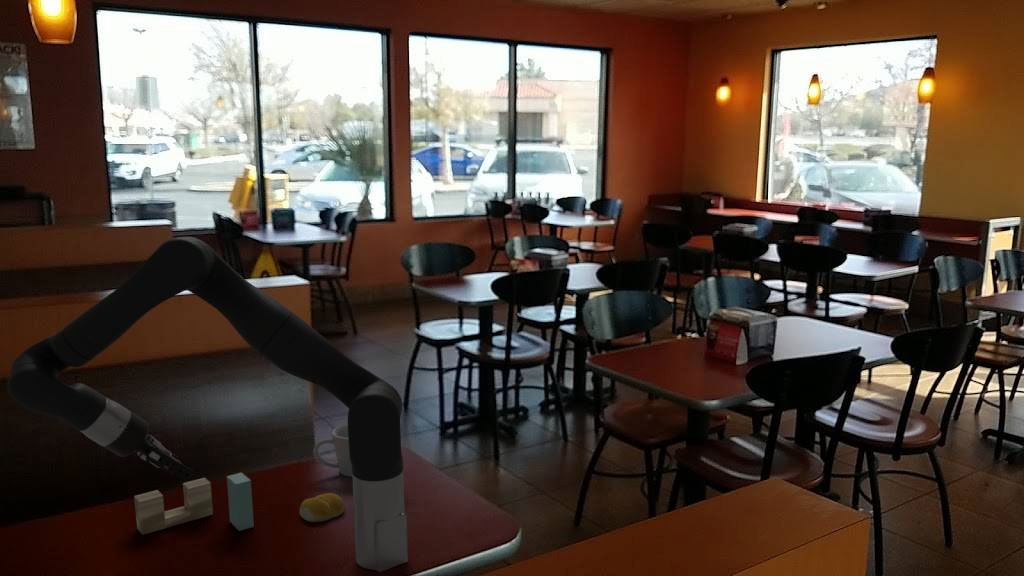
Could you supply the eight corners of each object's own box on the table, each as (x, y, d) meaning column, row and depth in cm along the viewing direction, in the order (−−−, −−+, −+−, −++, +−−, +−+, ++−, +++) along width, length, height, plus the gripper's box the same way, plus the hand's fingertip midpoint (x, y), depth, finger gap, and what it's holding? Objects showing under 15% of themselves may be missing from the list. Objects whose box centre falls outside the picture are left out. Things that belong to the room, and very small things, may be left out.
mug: (382, 475, 189) (381, 434, 187) (317, 485, 184) (315, 444, 182) (373, 459, 199) (371, 420, 197) (311, 468, 193) (309, 428, 191)
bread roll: (351, 512, 171) (351, 494, 170) (315, 527, 165) (314, 508, 164) (329, 500, 177) (328, 483, 176) (293, 514, 170) (292, 496, 170)
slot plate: (212, 514, 170) (210, 482, 169) (142, 534, 161) (139, 502, 160) (207, 508, 173) (204, 477, 171) (137, 528, 164) (134, 496, 163)
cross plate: (253, 526, 165) (250, 480, 163) (239, 531, 163) (235, 484, 161) (244, 517, 168) (241, 472, 167) (230, 522, 167) (226, 476, 165)
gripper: (139, 420, 143) (209, 464, 152) (117, 400, 154) (184, 443, 163) (109, 456, 141) (182, 499, 150) (90, 433, 151) (159, 475, 161)
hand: (183, 470), depth 156 cm, fingers open, 8 cm apart
